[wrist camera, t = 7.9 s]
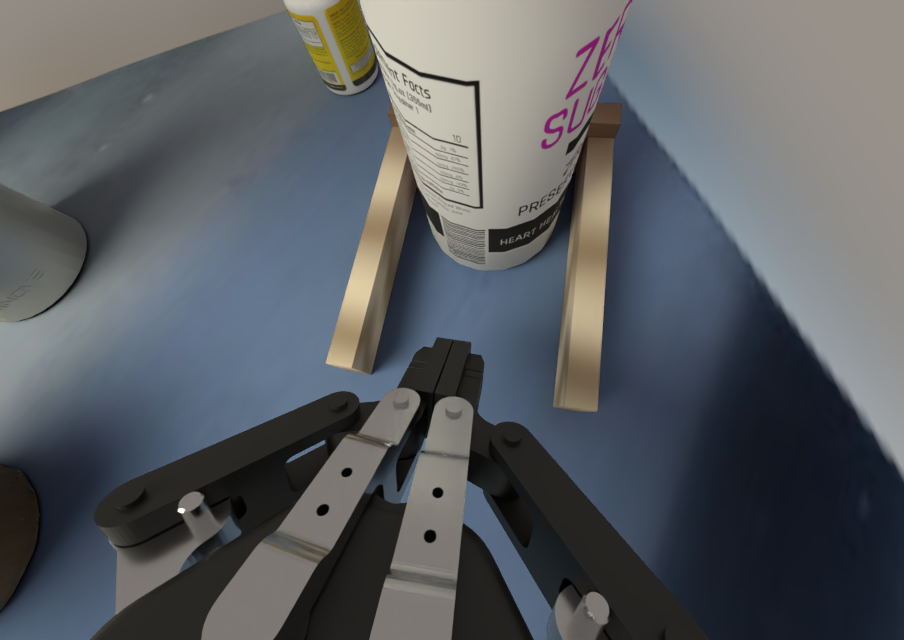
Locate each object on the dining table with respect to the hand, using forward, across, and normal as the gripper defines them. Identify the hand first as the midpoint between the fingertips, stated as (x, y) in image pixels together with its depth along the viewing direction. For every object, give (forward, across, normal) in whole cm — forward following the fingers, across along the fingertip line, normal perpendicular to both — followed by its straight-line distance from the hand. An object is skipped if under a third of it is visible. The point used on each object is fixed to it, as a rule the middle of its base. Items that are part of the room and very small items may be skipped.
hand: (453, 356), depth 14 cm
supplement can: (+11, 0, -4) cm, 12 cm away
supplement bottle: (+20, +13, -12) cm, 27 cm away
